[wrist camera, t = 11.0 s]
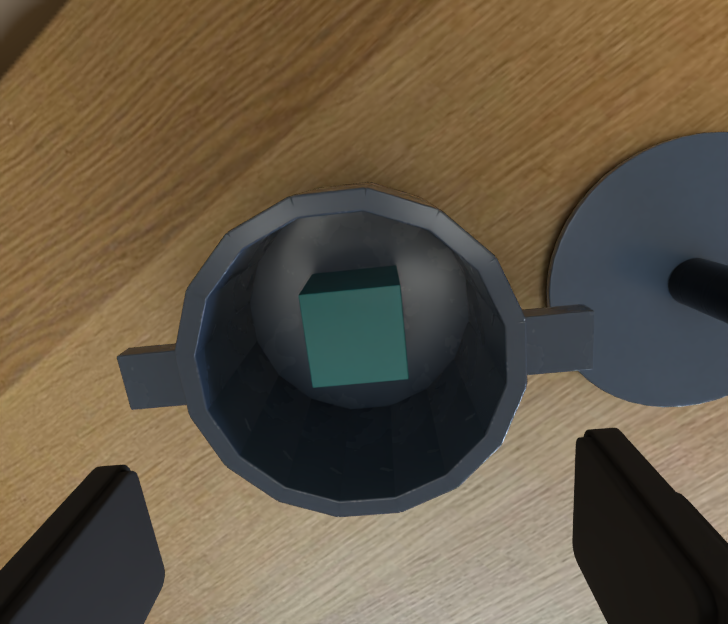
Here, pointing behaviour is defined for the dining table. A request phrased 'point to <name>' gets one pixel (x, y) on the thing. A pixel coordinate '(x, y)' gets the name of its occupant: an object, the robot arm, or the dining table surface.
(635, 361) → the lid
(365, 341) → the block
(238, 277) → the pot
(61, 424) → the dining table surface
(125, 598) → the robot arm
